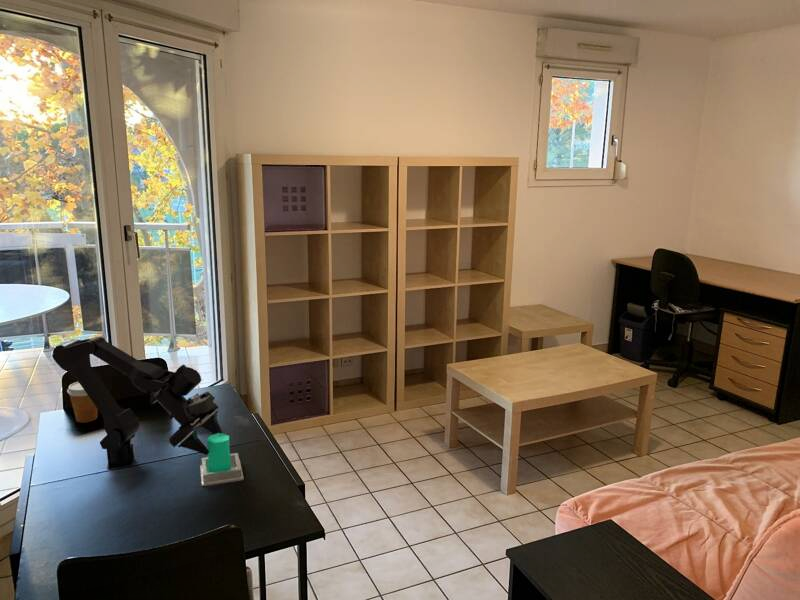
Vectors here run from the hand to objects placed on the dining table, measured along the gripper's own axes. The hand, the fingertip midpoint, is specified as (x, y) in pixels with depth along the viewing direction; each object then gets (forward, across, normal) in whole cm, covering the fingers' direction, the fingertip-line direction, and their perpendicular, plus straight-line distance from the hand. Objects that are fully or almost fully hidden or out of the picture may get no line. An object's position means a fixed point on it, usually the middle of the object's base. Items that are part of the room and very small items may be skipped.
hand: (215, 445), depth 168 cm
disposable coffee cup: (-34, +24, +48) cm, 63 cm away
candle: (+6, 0, +5) cm, 8 cm away
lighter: (-8, +28, +21) cm, 36 cm away
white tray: (+6, +3, +6) cm, 9 cm away
